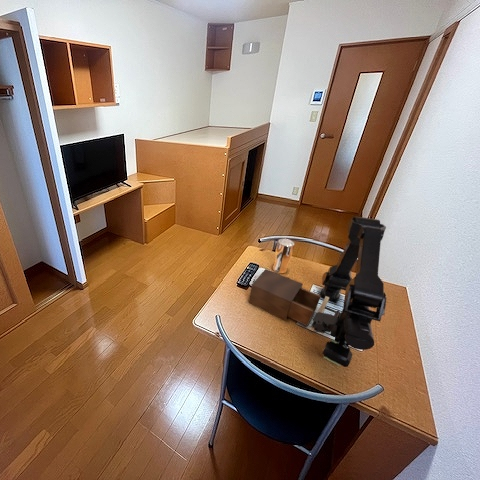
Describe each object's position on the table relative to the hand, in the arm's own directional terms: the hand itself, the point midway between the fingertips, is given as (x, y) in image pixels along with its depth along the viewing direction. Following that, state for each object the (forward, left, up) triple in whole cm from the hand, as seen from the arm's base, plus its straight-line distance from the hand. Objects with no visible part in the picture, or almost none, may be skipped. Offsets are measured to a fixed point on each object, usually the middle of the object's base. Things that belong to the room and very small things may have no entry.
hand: (334, 354), depth 80 cm
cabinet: (-13, -24, -3) cm, 27 cm away
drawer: (-13, -12, -2) cm, 18 cm away
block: (0, 0, -1) cm, 1 cm away
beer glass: (-36, -30, -3) cm, 47 cm away
